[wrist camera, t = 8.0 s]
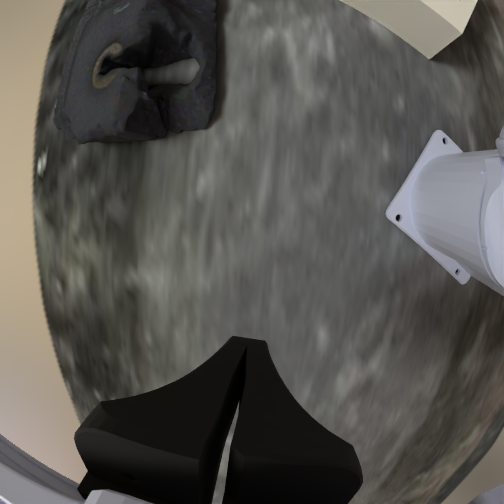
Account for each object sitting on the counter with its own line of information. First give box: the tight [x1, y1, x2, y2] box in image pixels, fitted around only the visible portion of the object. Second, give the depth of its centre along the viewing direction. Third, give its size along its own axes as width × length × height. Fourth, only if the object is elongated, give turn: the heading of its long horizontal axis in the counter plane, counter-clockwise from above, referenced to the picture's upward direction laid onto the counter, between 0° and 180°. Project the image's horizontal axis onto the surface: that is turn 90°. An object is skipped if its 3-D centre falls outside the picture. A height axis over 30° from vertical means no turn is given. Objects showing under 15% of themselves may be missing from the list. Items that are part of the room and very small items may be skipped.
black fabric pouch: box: [53, 0, 218, 144], centre depth 15 cm, size 15×22×5 cm
